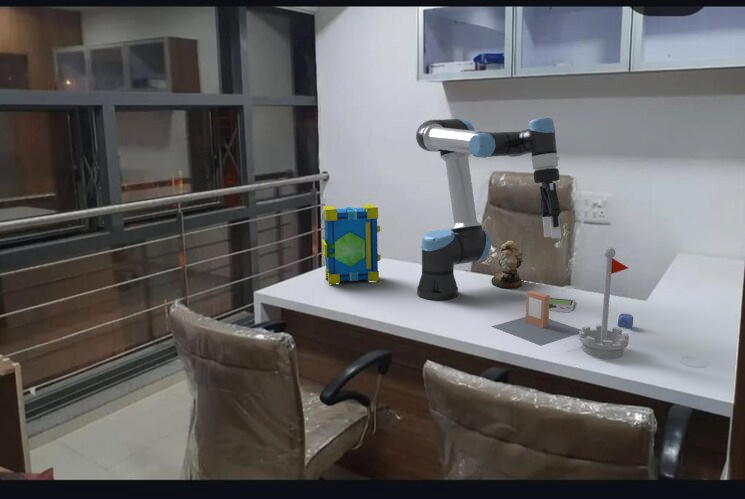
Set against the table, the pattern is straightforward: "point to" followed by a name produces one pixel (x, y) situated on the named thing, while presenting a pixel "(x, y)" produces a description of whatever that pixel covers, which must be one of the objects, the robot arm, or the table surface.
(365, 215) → the decorative book
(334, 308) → the table surface
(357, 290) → the table surface
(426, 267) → the robot arm
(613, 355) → the flag stand
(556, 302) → the handheld gaming console
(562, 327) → the mat
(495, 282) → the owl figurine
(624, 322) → the decorative dice
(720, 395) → the table surface
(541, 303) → the card deck
